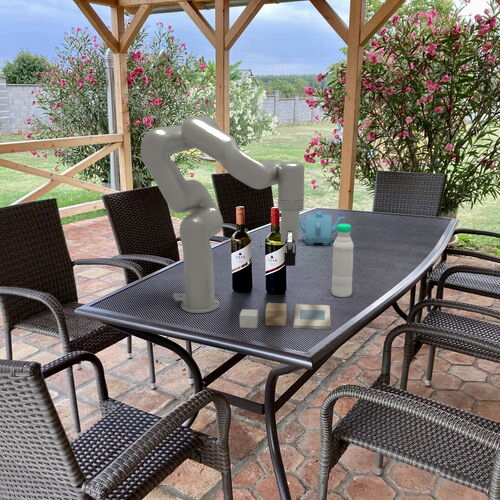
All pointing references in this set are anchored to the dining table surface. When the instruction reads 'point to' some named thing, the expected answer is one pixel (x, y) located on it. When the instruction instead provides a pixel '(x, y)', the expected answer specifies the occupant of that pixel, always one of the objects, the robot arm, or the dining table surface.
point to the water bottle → (342, 262)
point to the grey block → (248, 318)
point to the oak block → (276, 314)
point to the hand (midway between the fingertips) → (290, 260)
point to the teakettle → (318, 228)
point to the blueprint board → (312, 317)
